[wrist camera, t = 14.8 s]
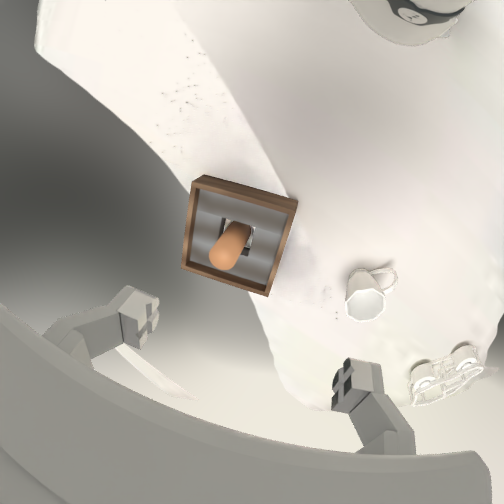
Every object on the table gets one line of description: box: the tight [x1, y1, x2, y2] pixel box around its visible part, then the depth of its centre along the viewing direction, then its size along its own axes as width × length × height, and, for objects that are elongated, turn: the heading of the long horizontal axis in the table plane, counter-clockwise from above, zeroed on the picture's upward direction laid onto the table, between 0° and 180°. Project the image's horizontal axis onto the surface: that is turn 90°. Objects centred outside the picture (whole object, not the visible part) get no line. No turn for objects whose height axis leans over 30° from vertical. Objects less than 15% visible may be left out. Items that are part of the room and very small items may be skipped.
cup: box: [345, 268, 398, 323], centre depth 43 cm, size 7×10×8 cm
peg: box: [209, 221, 251, 270], centre depth 44 cm, size 4×4×10 cm
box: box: [181, 175, 298, 297], centre depth 46 cm, size 16×16×5 cm
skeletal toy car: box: [408, 345, 484, 407], centre depth 50 cm, size 20×11×7 cm, turn 123°
